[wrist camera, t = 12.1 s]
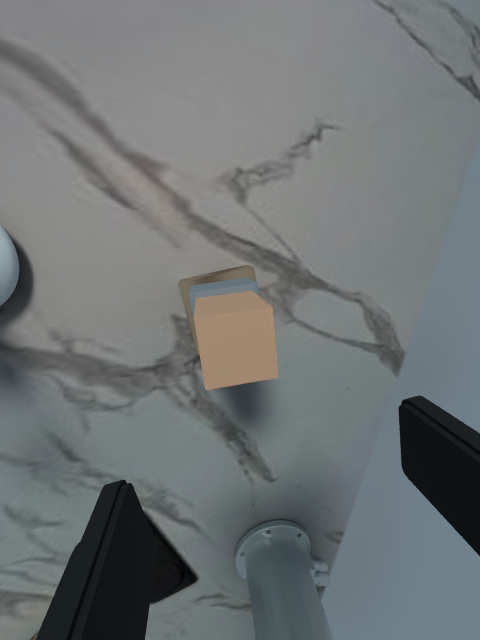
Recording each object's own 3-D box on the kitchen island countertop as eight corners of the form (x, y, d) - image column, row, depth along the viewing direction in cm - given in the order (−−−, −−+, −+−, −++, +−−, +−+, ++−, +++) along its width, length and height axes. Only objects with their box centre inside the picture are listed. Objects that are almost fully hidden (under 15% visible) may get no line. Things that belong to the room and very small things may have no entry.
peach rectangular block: (252, 290, 24) (272, 307, 17) (257, 343, 25) (278, 377, 18) (195, 298, 23) (193, 318, 17) (204, 351, 25) (205, 390, 18)
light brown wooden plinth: (246, 264, 33) (253, 267, 28) (258, 326, 35) (266, 337, 31) (181, 279, 32) (178, 283, 28) (197, 341, 34) (197, 354, 30)
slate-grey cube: (247, 277, 29) (257, 282, 24) (253, 330, 30) (264, 346, 25) (190, 285, 28) (188, 292, 23) (200, 339, 30) (200, 357, 25)
